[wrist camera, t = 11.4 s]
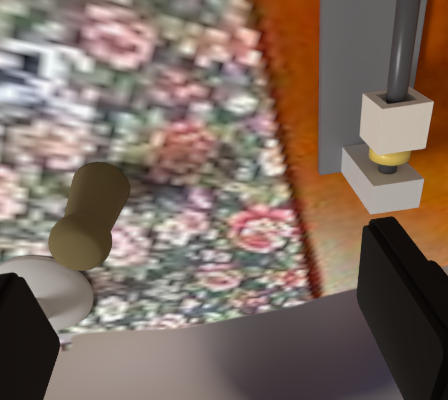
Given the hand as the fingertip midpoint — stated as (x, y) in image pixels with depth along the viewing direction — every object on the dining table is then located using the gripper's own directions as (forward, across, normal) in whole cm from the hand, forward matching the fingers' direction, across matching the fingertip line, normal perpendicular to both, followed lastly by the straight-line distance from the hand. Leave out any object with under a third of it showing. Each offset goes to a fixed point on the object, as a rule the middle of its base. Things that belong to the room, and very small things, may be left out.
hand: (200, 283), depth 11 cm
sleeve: (+24, -16, +6) cm, 29 cm away
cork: (+28, +12, +12) cm, 33 cm away
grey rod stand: (+28, -16, +2) cm, 33 cm away
